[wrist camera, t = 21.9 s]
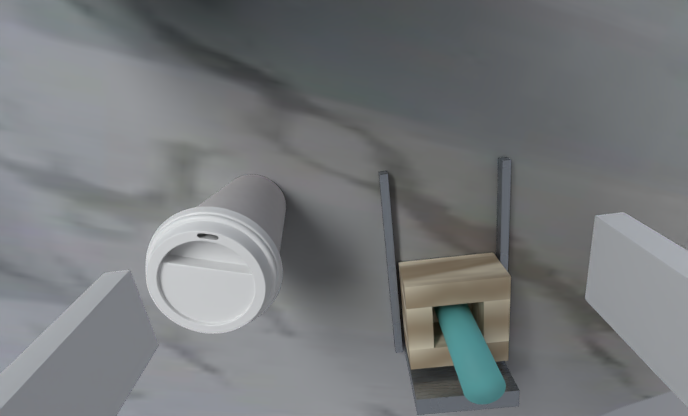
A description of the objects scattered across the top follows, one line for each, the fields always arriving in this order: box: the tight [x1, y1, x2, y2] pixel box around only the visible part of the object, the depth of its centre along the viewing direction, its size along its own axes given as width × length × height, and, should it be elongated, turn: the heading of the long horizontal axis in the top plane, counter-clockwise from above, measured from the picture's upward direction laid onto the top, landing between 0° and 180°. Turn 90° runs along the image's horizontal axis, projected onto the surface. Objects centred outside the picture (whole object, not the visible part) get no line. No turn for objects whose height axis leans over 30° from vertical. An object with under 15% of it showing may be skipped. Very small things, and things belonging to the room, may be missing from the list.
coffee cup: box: [146, 174, 286, 334], centre depth 33 cm, size 10×10×15 cm
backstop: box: [379, 157, 519, 415], centre depth 39 cm, size 23×12×8 cm, turn 7°
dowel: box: [434, 303, 506, 404], centre depth 38 cm, size 3×3×12 cm
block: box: [398, 252, 511, 369], centre depth 42 cm, size 10×10×5 cm
